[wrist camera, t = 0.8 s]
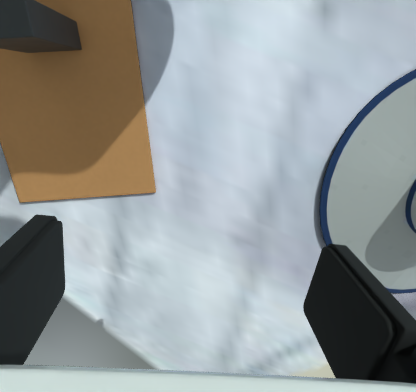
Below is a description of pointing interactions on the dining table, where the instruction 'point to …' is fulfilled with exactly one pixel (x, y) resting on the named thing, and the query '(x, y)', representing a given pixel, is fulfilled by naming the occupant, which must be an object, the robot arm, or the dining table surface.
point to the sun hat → (377, 187)
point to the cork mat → (78, 110)
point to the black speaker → (36, 28)
